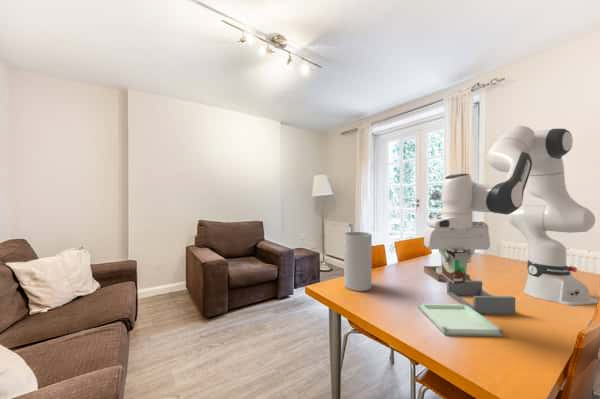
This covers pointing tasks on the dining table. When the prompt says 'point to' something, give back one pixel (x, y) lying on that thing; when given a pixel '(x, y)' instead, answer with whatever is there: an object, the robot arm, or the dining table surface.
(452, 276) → the food container
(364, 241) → the cylinder vase
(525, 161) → the robot arm
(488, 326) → the tray
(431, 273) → the shallow brown square box
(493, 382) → the dining table surface
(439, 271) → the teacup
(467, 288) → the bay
